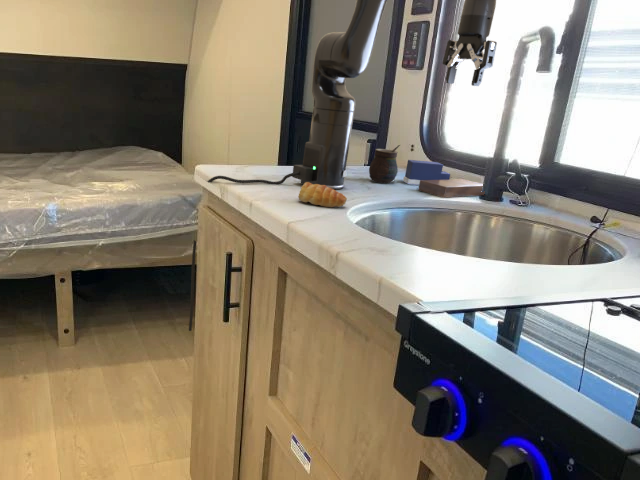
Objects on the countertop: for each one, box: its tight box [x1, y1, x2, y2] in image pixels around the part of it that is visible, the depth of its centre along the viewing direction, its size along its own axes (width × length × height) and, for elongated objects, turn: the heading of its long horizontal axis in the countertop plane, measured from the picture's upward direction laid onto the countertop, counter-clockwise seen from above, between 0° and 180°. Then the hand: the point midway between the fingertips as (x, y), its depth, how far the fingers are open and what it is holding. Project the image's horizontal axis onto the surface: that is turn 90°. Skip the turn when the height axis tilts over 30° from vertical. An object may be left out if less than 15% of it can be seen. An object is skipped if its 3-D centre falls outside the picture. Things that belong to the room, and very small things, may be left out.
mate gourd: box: [368, 144, 401, 184], centre depth 152 cm, size 7×8×10 cm
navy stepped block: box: [402, 159, 451, 186], centre depth 156 cm, size 11×4×6 cm, turn 92°
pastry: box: [297, 182, 348, 208], centre depth 121 cm, size 9×7×4 cm
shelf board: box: [417, 178, 485, 198], centre depth 147 cm, size 16×8×2 cm, turn 122°
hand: (462, 84), depth 153 cm, fingers open, 8 cm apart
